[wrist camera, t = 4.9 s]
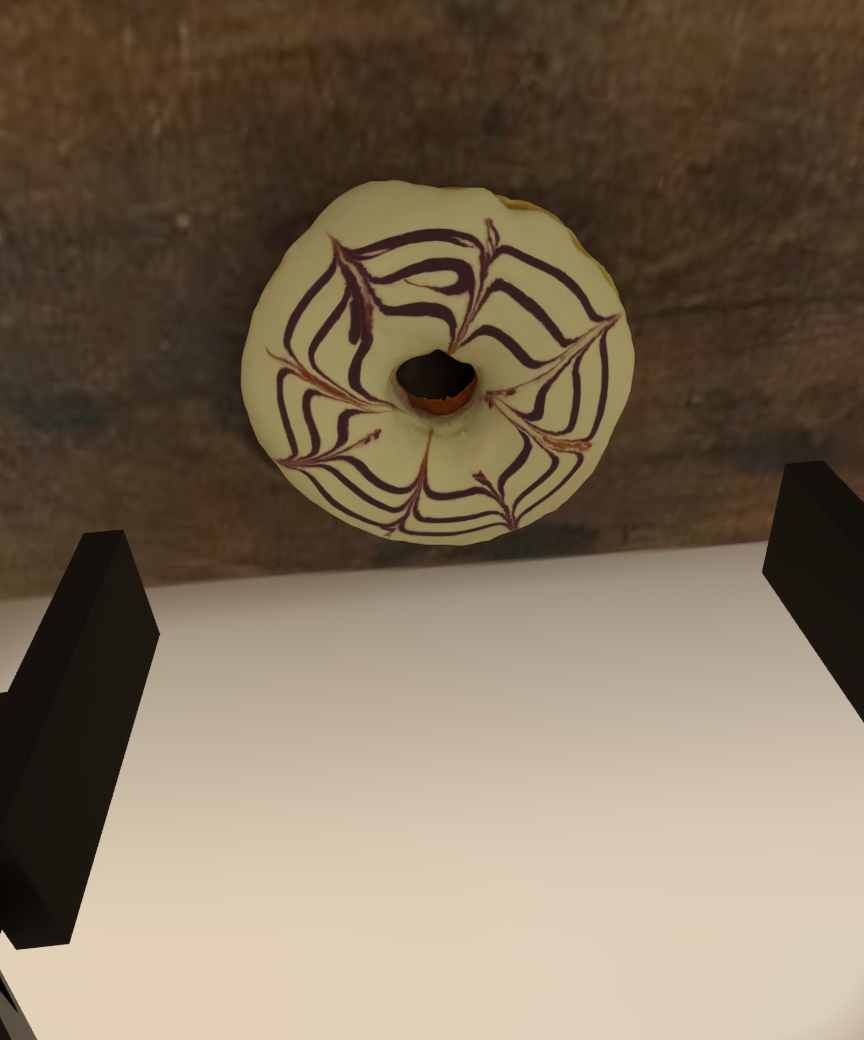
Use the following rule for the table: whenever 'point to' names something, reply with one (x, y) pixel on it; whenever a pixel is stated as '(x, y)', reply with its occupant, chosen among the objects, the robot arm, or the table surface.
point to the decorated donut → (419, 331)
